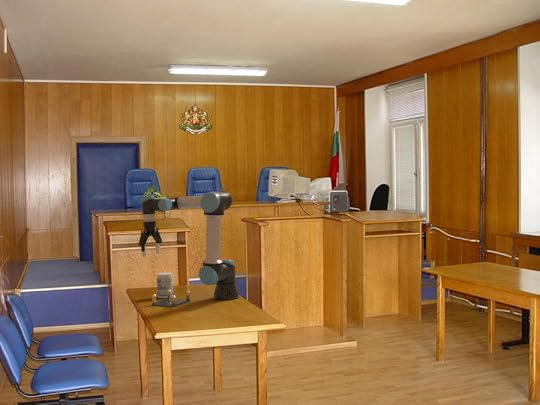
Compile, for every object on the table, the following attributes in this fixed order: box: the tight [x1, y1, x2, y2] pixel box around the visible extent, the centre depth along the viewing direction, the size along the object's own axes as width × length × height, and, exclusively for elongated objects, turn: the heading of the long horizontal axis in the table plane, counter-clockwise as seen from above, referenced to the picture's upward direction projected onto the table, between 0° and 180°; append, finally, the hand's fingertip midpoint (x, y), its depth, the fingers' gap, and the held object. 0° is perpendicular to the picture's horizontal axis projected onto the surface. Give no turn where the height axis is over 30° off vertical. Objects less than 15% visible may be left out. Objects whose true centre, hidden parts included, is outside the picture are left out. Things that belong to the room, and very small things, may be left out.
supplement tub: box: [156, 272, 174, 299], centre depth 377 cm, size 10×10×15 cm
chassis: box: [151, 290, 191, 308], centre depth 358 cm, size 16×16×6 cm
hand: (151, 255), depth 377 cm, fingers open, 13 cm apart
